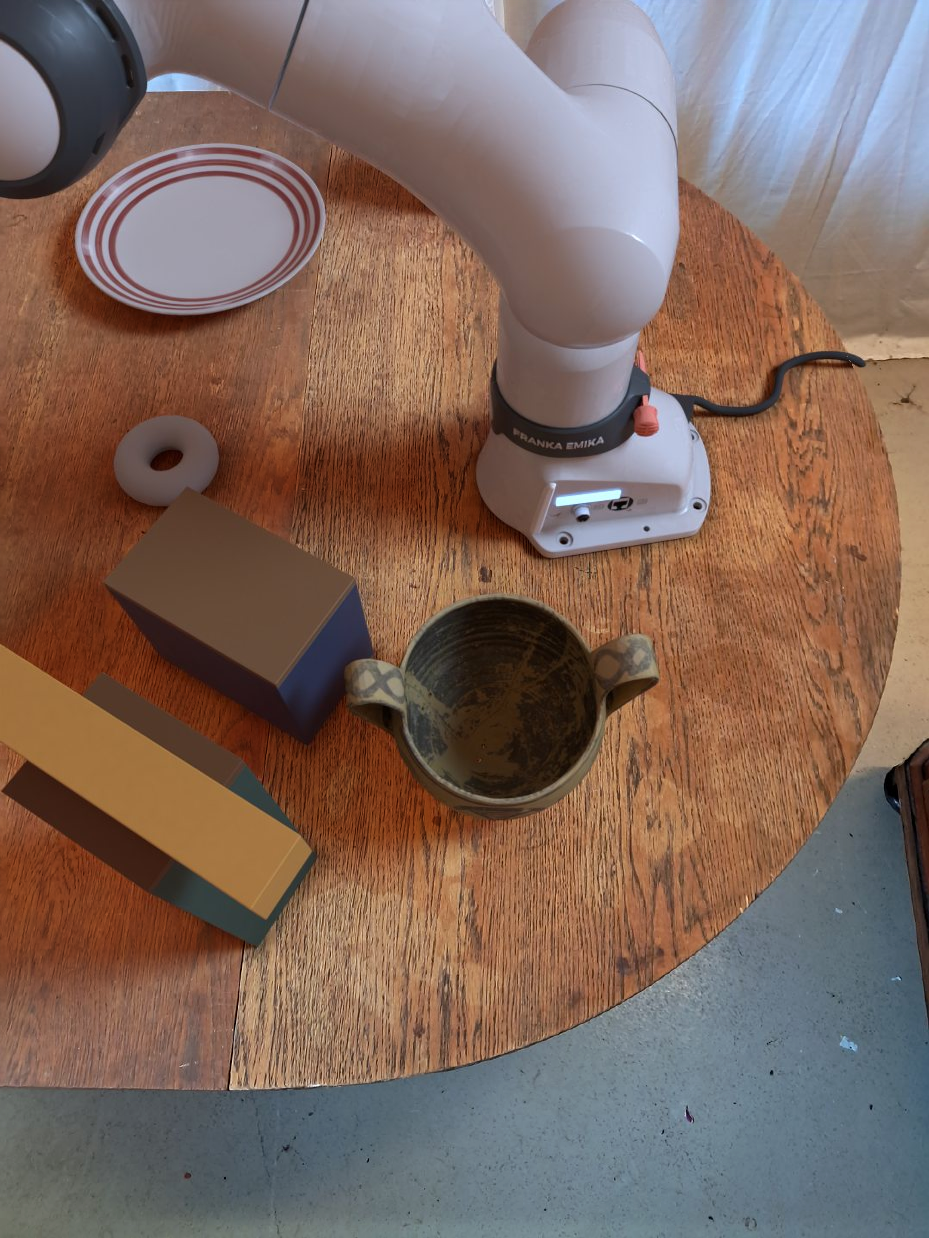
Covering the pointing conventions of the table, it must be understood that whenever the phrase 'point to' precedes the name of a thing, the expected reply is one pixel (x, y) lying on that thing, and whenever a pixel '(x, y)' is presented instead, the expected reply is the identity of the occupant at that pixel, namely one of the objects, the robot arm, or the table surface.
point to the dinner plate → (200, 229)
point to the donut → (155, 439)
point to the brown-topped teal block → (132, 850)
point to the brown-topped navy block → (244, 612)
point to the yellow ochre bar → (147, 788)
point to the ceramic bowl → (500, 703)
